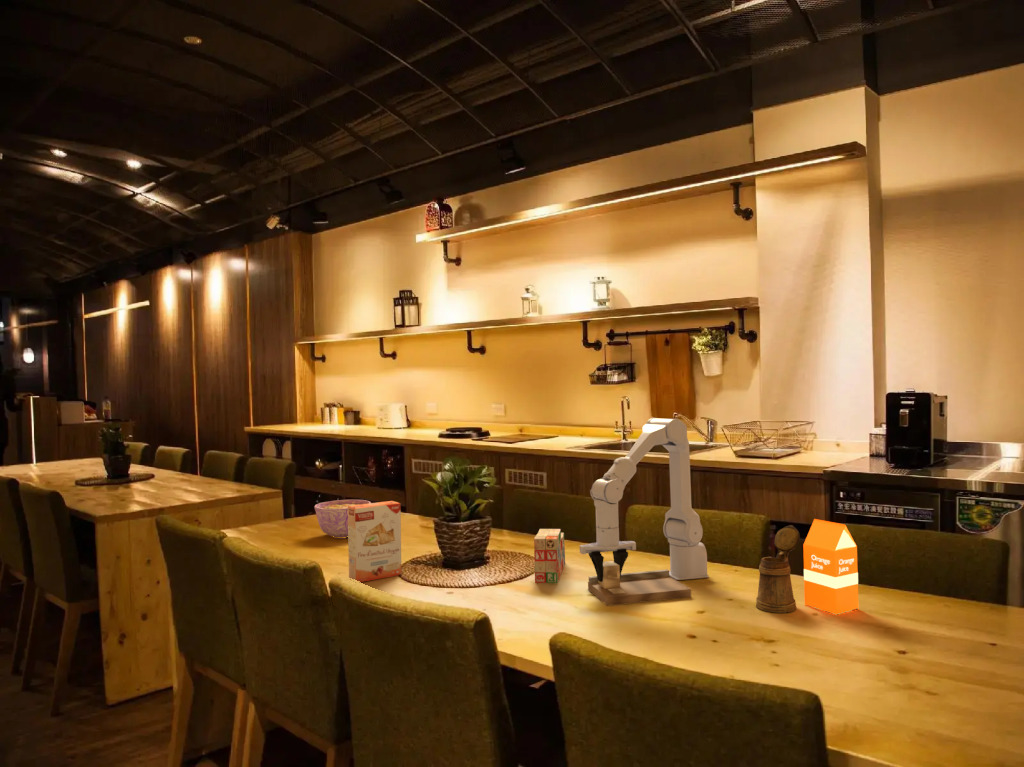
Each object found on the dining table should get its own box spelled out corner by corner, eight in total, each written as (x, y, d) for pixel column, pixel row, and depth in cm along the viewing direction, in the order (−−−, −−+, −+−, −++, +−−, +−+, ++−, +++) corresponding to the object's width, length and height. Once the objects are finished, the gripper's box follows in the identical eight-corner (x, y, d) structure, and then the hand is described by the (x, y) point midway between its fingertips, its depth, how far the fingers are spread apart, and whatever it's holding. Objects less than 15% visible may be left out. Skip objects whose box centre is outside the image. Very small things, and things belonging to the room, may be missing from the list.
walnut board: (666, 582, 193) (666, 568, 193) (691, 597, 179) (690, 582, 179) (588, 589, 188) (587, 576, 188) (607, 605, 174) (606, 591, 174)
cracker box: (356, 584, 199) (354, 508, 199) (348, 579, 204) (346, 505, 204) (403, 575, 207) (401, 502, 207) (393, 571, 212) (391, 499, 212)
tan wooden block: (612, 581, 187) (612, 560, 187) (620, 587, 182) (619, 565, 182) (598, 583, 186) (597, 562, 186) (605, 589, 181) (604, 567, 181)
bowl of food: (365, 541, 253) (364, 508, 253) (308, 542, 253) (307, 509, 253) (376, 529, 273) (375, 498, 273) (323, 530, 273) (322, 500, 273)
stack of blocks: (544, 563, 217) (543, 522, 217) (565, 563, 216) (564, 522, 216) (534, 583, 196) (533, 537, 196) (557, 583, 195) (556, 538, 195)
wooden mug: (812, 602, 173) (810, 527, 173) (784, 616, 164) (782, 536, 164) (776, 594, 179) (774, 522, 179) (748, 607, 170) (746, 531, 170)
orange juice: (836, 615, 163) (834, 526, 163) (804, 605, 171) (802, 520, 171) (859, 609, 167) (857, 522, 167) (826, 599, 175) (824, 516, 175)
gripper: (585, 531, 179) (586, 586, 179) (640, 527, 182) (641, 581, 182) (576, 526, 186) (577, 579, 186) (629, 522, 189) (630, 574, 189)
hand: (608, 579), depth 184 cm, fingers closed on tan wooden block, 4 cm apart
